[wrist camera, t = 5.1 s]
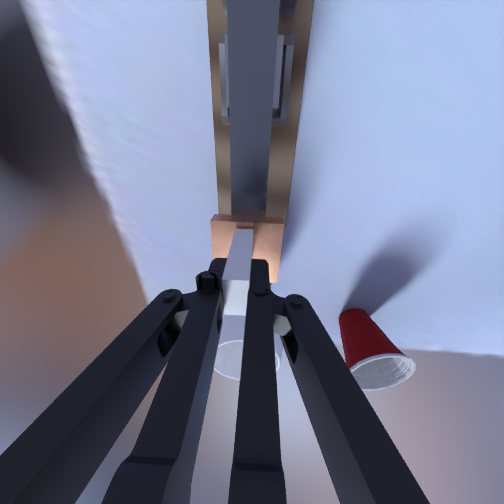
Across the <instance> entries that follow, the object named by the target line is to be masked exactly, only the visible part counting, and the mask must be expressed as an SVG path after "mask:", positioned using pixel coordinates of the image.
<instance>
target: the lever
mask: <svg viewBox="0 0 504 504" xmlns="http://www.w3.org/2000/svg"><path fill="white" fill-rule="evenodd" d="M279 6H280V0H227V28H228V34H224V36H225V74H226V107H228V108H229V124H230V172H231V215H222V214H214V216H213V217H212V219H211V221H210V222H211V235H212V249H213V260H214V259H215V258H228V254H229V250H230V246H231V243H232V239H233V235H234V231H235V229H253V257H252V259H266V261H267V262H268V263H269V278H270V283H277V282H278V273H279V265H280V256H281V248H282V239H283V231H284V221H283V217H266V201H267V186H268V171H269V156H270V141H271V126H272V111H273V110H278V106H279V93H280V80H281V67H282V55H283V42H284V35H278V21H279Z"/></svg>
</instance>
